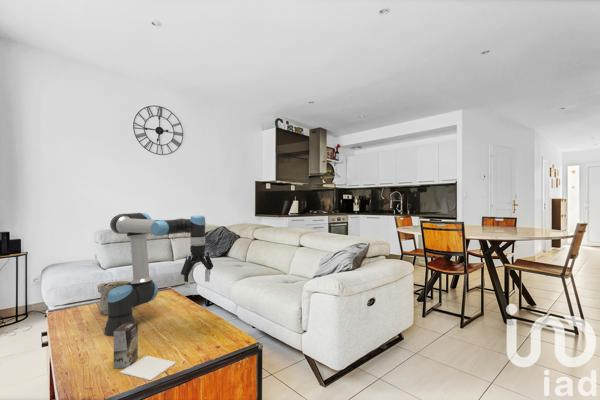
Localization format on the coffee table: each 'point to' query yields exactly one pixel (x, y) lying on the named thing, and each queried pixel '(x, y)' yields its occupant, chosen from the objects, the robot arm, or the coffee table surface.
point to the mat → (148, 368)
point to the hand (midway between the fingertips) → (197, 284)
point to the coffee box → (125, 345)
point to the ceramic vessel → (104, 291)
